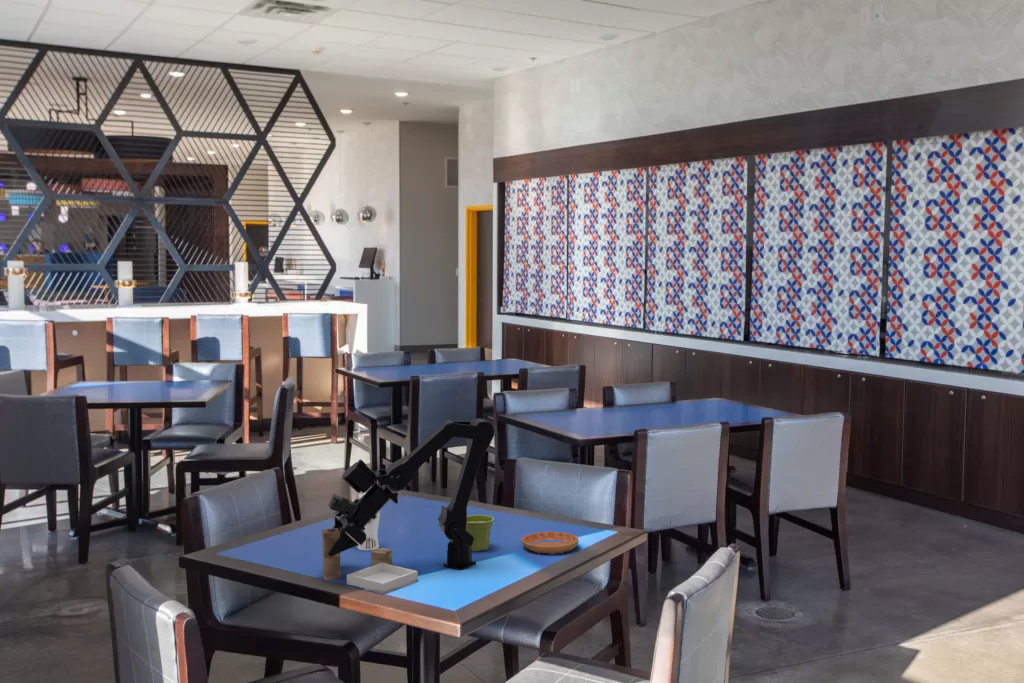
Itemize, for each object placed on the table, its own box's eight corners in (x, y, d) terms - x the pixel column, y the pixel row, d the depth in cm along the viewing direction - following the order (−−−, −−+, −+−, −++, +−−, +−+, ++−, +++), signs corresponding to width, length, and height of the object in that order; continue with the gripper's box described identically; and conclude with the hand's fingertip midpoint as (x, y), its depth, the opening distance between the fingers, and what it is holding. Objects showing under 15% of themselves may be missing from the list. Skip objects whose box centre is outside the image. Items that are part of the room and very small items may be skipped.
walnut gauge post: (338, 574, 246) (337, 527, 245) (340, 578, 242) (339, 530, 241) (322, 575, 245) (322, 528, 244) (324, 580, 241) (323, 532, 240)
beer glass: (380, 550, 268) (380, 497, 267) (355, 551, 267) (355, 498, 266) (380, 543, 275) (379, 492, 274) (355, 544, 273) (355, 493, 273)
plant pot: (454, 551, 267) (454, 520, 266) (470, 543, 275) (470, 513, 275) (484, 555, 263) (484, 524, 262) (499, 546, 271) (499, 516, 271)
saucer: (512, 552, 266) (512, 541, 266) (537, 538, 281) (537, 528, 280) (564, 559, 259) (564, 548, 259) (587, 545, 273) (587, 535, 273)
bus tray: (382, 572, 247) (381, 562, 247) (417, 581, 240) (417, 571, 239) (346, 584, 237) (346, 574, 237) (383, 594, 230) (382, 583, 229)
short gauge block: (378, 562, 256) (378, 548, 256) (391, 564, 255) (391, 549, 255) (371, 566, 253) (371, 551, 252) (384, 568, 251) (384, 553, 251)
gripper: (342, 476, 252) (300, 521, 249) (352, 491, 234) (307, 539, 232) (372, 504, 255) (331, 548, 252) (384, 520, 237) (340, 568, 235)
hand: (327, 550), depth 243 cm, fingers open, 9 cm apart
